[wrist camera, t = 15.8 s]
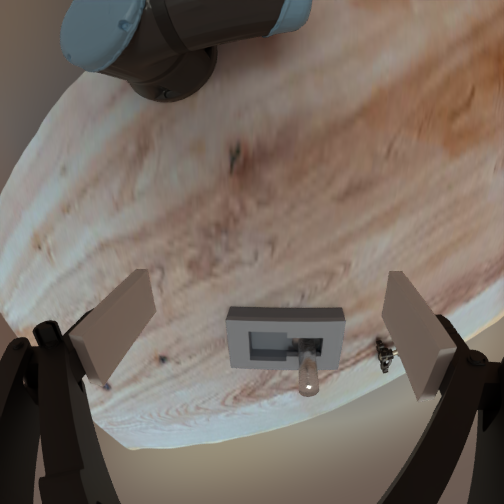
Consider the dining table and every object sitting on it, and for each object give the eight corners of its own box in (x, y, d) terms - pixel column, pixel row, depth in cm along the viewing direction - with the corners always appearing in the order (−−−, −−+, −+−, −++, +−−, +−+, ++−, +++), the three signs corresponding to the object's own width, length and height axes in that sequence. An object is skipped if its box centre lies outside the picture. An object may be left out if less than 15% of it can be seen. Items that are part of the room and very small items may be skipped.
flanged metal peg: (285, 337, 52) (284, 391, 40) (306, 320, 51) (309, 373, 38) (305, 351, 53) (308, 405, 41) (325, 335, 52) (333, 389, 39)
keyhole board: (234, 353, 57) (230, 367, 52) (230, 306, 53) (225, 319, 49) (335, 354, 54) (337, 369, 50) (341, 307, 50) (345, 321, 46)
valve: (429, 316, 49) (374, 334, 52) (442, 335, 43) (382, 356, 46) (429, 341, 51) (377, 358, 54) (440, 361, 45) (384, 380, 48)
